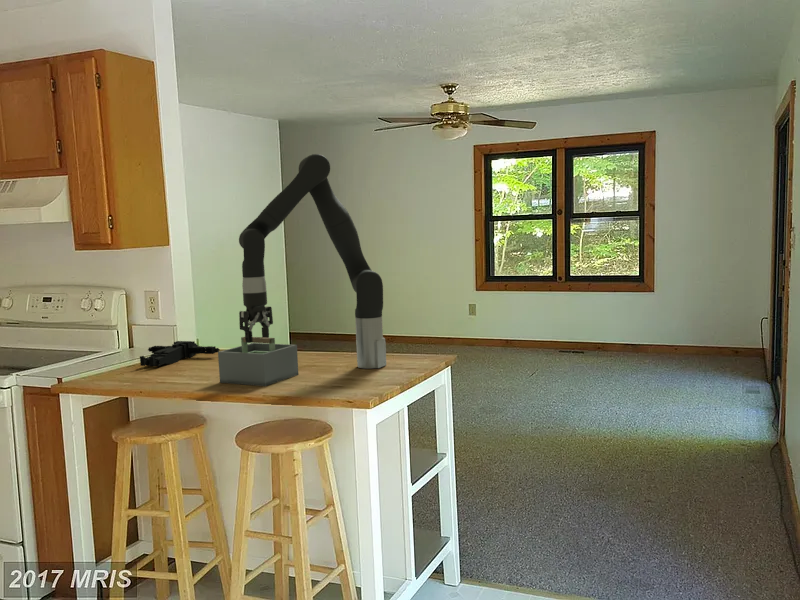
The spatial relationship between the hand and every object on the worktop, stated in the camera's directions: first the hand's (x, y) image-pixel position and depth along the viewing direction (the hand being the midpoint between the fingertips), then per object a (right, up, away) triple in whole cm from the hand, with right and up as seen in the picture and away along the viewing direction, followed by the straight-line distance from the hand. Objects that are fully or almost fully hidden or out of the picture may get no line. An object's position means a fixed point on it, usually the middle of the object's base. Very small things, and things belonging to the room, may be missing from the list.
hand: (257, 340), depth 233 cm
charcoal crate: (0, -13, +1) cm, 12 cm away
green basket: (+1, -12, +1) cm, 12 cm away
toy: (-41, -11, +40) cm, 58 cm away
